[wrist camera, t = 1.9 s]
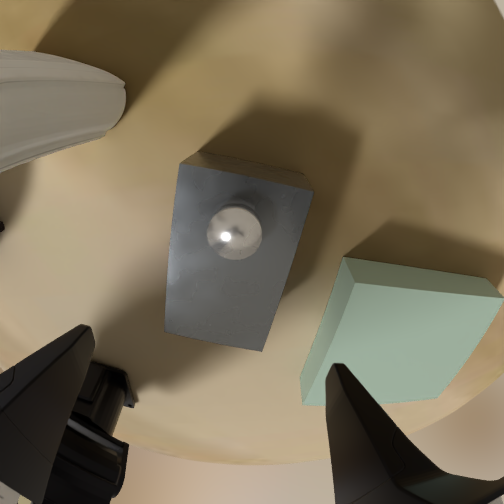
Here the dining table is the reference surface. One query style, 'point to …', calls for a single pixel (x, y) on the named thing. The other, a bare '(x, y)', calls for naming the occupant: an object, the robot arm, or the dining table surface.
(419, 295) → the sage stand
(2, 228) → the mate gourd
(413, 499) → the robot arm
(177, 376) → the dining table surface
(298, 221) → the graphite housing
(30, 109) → the photo printer
